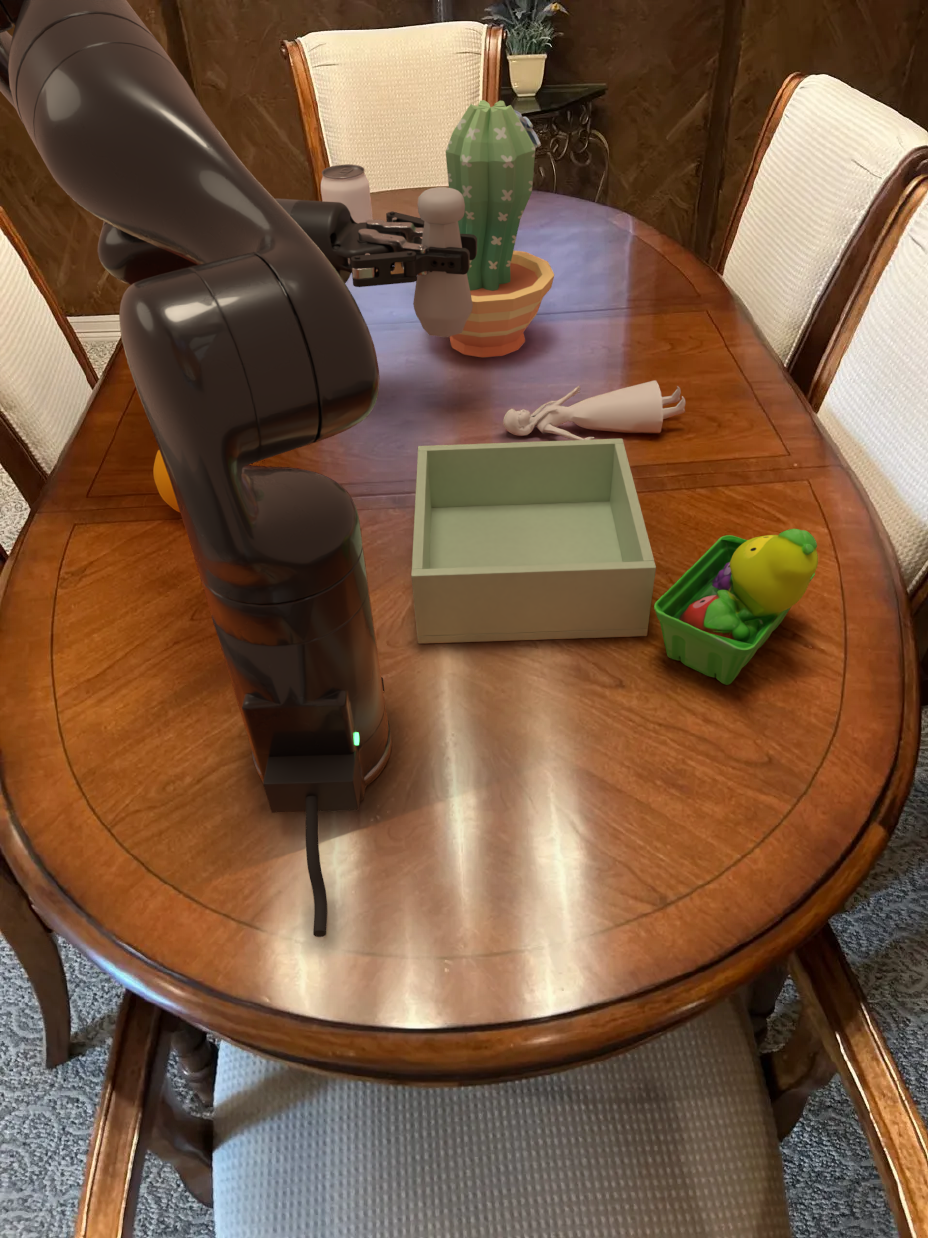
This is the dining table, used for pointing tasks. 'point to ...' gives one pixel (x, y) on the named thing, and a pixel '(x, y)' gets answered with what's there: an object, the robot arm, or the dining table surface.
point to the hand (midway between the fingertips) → (471, 254)
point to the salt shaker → (440, 293)
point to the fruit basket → (735, 600)
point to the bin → (529, 543)
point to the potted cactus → (496, 226)
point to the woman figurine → (601, 412)
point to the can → (348, 190)
